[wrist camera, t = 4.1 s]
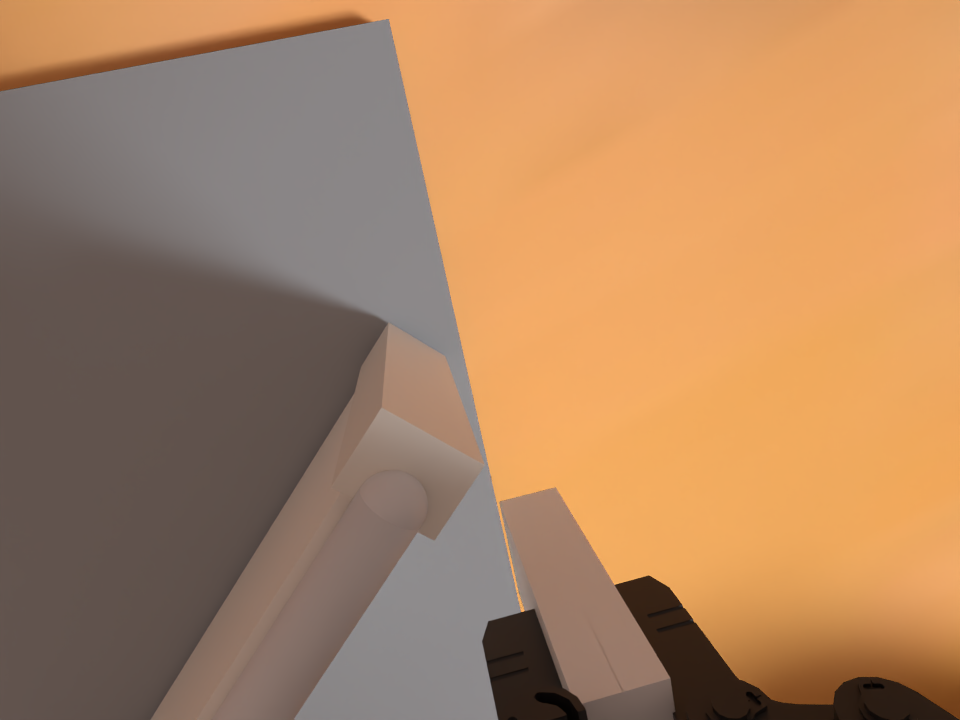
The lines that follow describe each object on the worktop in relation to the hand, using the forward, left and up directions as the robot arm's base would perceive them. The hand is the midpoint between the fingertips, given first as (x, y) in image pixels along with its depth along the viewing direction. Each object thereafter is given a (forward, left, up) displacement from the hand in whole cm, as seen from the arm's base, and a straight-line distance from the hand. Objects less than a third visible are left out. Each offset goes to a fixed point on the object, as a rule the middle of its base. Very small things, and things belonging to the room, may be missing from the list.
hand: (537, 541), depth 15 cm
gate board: (0, +11, -6) cm, 12 cm away
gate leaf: (-1, +8, -4) cm, 9 cm away
